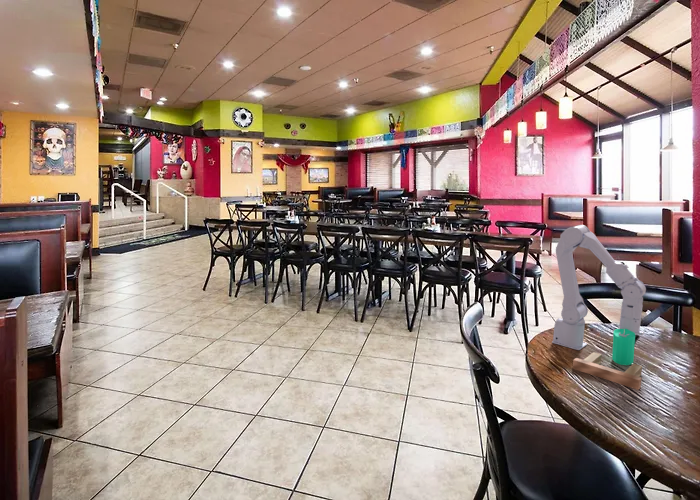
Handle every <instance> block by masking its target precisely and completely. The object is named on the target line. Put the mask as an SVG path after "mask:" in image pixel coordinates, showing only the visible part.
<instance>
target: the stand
mask: <svg viewBox="0 0 700 500" xmlns="http://www.w3.org/2000/svg"><path fill="white" fill-rule="evenodd" d="M601 363H602V353H598V352H594V351H593V352H592V353H590V354H589V355H588V356H586V357H585V358H584V359H582V358H578V357H576V358H574V359H573V362H572V370H575V371H578V372H582V373H585V374H588V375H591V376H594V377H598V378H600V379H603V380H606V381H610V382H613V383H616V384H620V385H622V386H625V387H628V388H632V389H633V390H637V391H638V390H640V389H641V387H642V381H643V380H642V378H643V377H641V376H642V373H643V365H639V364H638V363H637V364H636V363H632V364H631V365H629V367H628V368H627V369H626V370H625V371H621V370H618V369H615V368H612V367H608V366H606V365H605V366H604V365H602V364H601Z"/></svg>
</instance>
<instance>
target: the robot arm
mask: <svg viewBox="0 0 700 500" xmlns="http://www.w3.org/2000/svg"><path fill="white" fill-rule="evenodd" d="M559 235H560V236H559V237H560V238H559V240H558V242H557V245H556V246H555V254H556V261H557V266H558V272H559V277H560V282H561V288H562V293H563V299H562V303H561V305H562V308H561V309H562V310H561V312H560V316H561V318H557V319H556V320H555V322H554V326H553V338H552V339H553V340H552V341H551V343H552V344H556V345H559V346H561V347H566V348H569V349H573V350H576V351H580V350H582V349H583V348H585V347H586V346H587V345H588V344H587V342H584V337H585V326H586V321H585V317H587V315H588V313H589V310H588V306H587V305H586V304H585V302H584V298H583V296H582V295H581V293H580V288H579V283H578V277H577V272H576V267H575V266H576V265H575V262H574V255H573V252H574V251H575V250H576V249H577V248H578V247H579V248H582V249H583V248H584V249H587V250H590V252H591V253H593V254H594V256H595V257H596V258H597V259H598V260H599V261H600V262H601V263H602V264H603V266H605V268H606V269H605V274H607V276H608V277H609V278H610V279H611V280H612V282H614V284H615V285H616V286H617V288H619V289H620V294H621V296H622V301H621V307H620V318H619V326H618V328H617V329H628V330H630V331H632V332H634V333H635V344H636V343H637V341H638V340H639V339H640V337H641V336H643V335H644V334H645V332H644V331H642V330H640V329H641V321H642V313H643V306H644V305H643V302H644V295H646V291H647V288H646V285H645V284H644V282H643V281H642V280H639V278H638V276H637V277H636V276H635V275H633V273H632V272H631V271H630V270H629V269H628V268H629V266H628V265H627V264H623V262H619V261H616V260H615V259H614V258H613V256H612V255H611V254H610V253H609V251H608V250H607V249H606V248H605V246H604V245H603V244H602V243H601V242H600V240H599V239H598V237H597V236H596V234H595V233H593V232H592V231H591V230H590V229H589V228H588V227H587V226H586V225H584V224H579V225H578V224H577V225H575V226H570V227H568V228H566V229H565V230H563V231H562V233H560V234H559ZM624 334H625V333H623V334H620V333H619V336H622V337H626V336H628V335H629V334H627V335H624Z"/></svg>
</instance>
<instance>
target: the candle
mask: <svg viewBox="0 0 700 500" xmlns="http://www.w3.org/2000/svg"><path fill="white" fill-rule="evenodd" d="M619 333H620V334H623V333H625V334H624V335H627V334H629V335H628V336H626V337H622V336H619ZM612 335H613V336H612V351H611V352H612V353H611V355H612V357H611V358H612V361H613V362H614V363H615V364H617V365H621V366H631V365H632V364H634V362H635V361H634V359H635V347H636V346H635V345H636V343H635V333H634V332H632V331H630V330H628V329H618V328H615V329H614V330H613V334H612Z"/></svg>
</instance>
